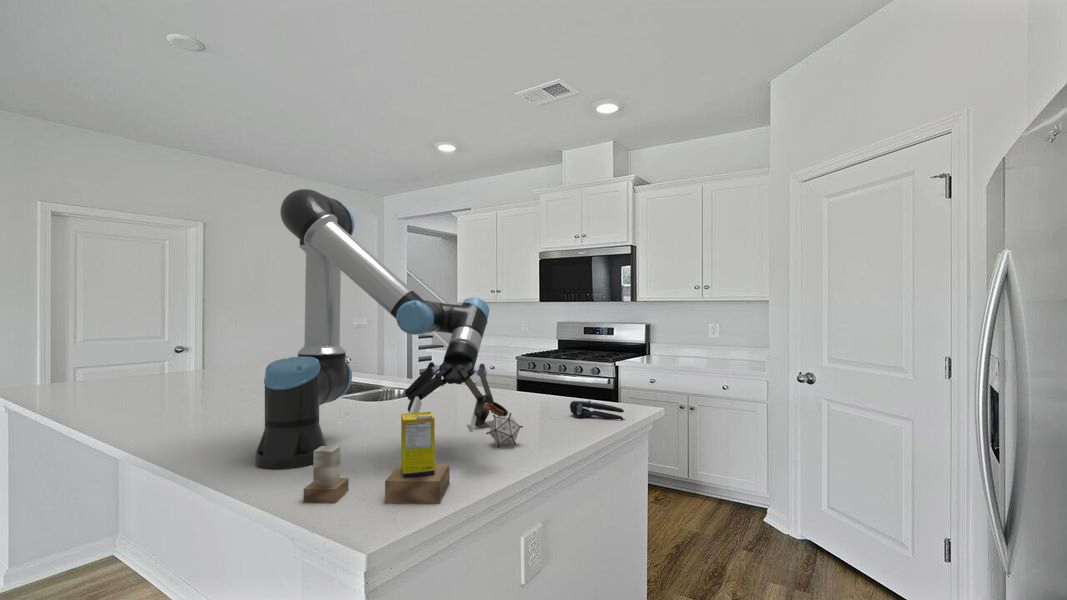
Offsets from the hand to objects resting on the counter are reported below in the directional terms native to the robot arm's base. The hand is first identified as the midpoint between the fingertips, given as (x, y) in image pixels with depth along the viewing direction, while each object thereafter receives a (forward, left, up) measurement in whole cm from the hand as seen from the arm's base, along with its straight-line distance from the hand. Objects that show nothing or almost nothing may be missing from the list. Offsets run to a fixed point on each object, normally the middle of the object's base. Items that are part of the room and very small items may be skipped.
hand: (439, 427), depth 108 cm
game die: (+12, +24, -10) cm, 29 cm away
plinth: (-2, -10, -10) cm, 15 cm away
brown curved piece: (+6, +45, -11) cm, 47 cm away
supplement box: (-2, -10, -6) cm, 12 cm away
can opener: (+39, +56, -11) cm, 70 cm away
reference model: (-19, -12, -10) cm, 25 cm away
